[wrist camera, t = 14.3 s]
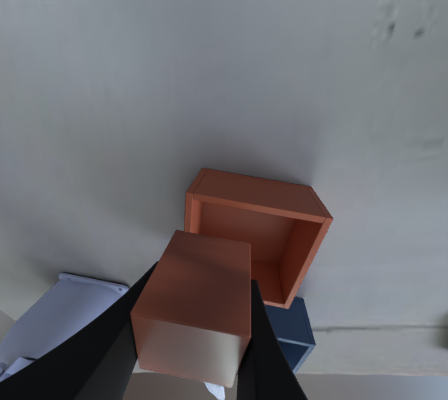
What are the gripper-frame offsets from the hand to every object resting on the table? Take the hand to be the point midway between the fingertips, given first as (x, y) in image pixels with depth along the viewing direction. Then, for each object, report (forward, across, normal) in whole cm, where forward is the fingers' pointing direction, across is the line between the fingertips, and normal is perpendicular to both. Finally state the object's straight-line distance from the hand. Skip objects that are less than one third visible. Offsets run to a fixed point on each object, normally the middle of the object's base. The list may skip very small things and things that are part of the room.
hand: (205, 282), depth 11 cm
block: (+1, 0, 0) cm, 1 cm away
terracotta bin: (+8, -2, +1) cm, 9 cm away
